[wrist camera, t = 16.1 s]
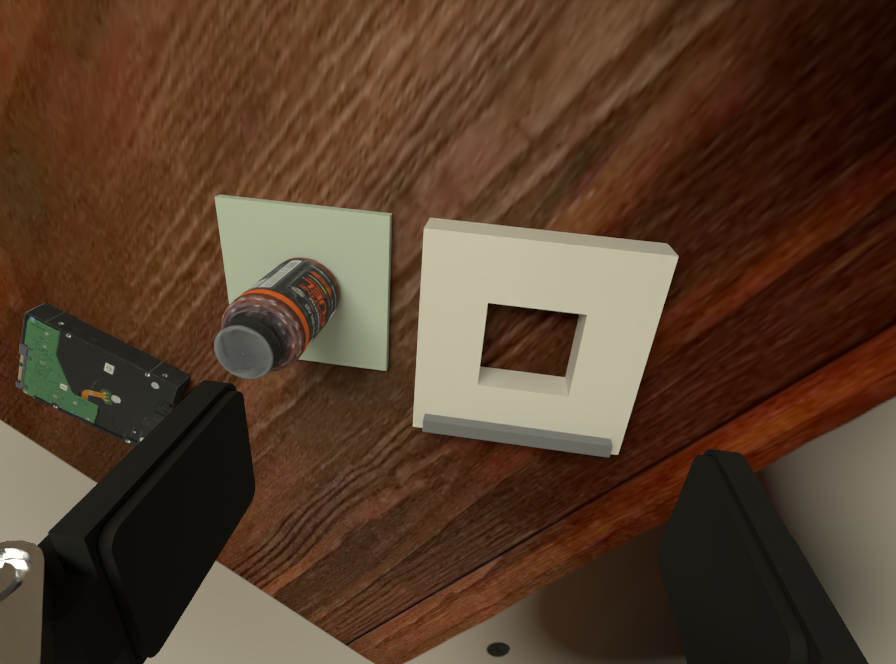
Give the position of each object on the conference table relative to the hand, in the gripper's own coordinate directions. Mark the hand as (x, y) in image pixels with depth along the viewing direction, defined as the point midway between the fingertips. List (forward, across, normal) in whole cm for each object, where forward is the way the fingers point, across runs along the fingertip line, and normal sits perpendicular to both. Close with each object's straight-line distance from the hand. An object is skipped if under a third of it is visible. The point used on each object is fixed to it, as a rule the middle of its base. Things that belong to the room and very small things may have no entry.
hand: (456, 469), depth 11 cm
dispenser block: (+30, -4, +12) cm, 33 cm away
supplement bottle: (+30, +15, +10) cm, 35 cm away
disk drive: (+31, +36, +22) cm, 53 cm away
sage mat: (+30, +15, +10) cm, 35 cm away
